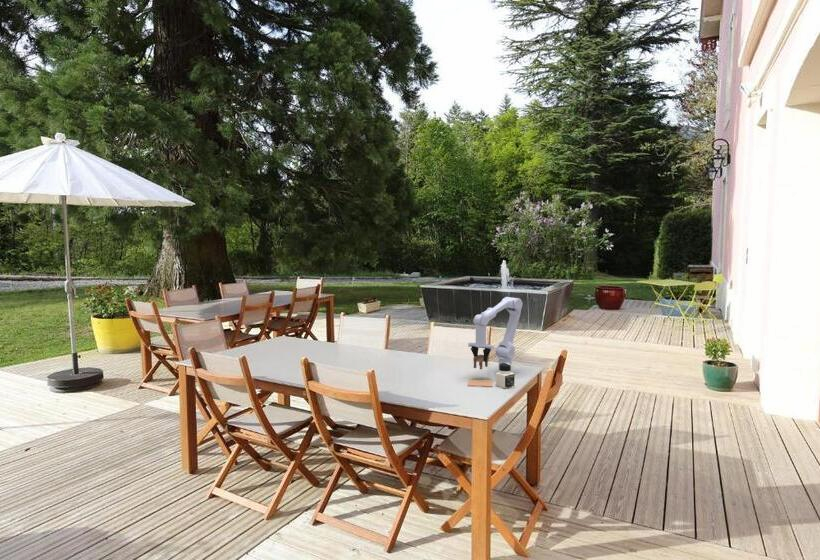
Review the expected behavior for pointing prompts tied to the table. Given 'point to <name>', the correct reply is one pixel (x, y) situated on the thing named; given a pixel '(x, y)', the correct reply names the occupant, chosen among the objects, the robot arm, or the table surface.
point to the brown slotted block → (479, 359)
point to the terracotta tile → (480, 383)
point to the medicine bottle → (505, 376)
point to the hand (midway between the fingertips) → (480, 360)
